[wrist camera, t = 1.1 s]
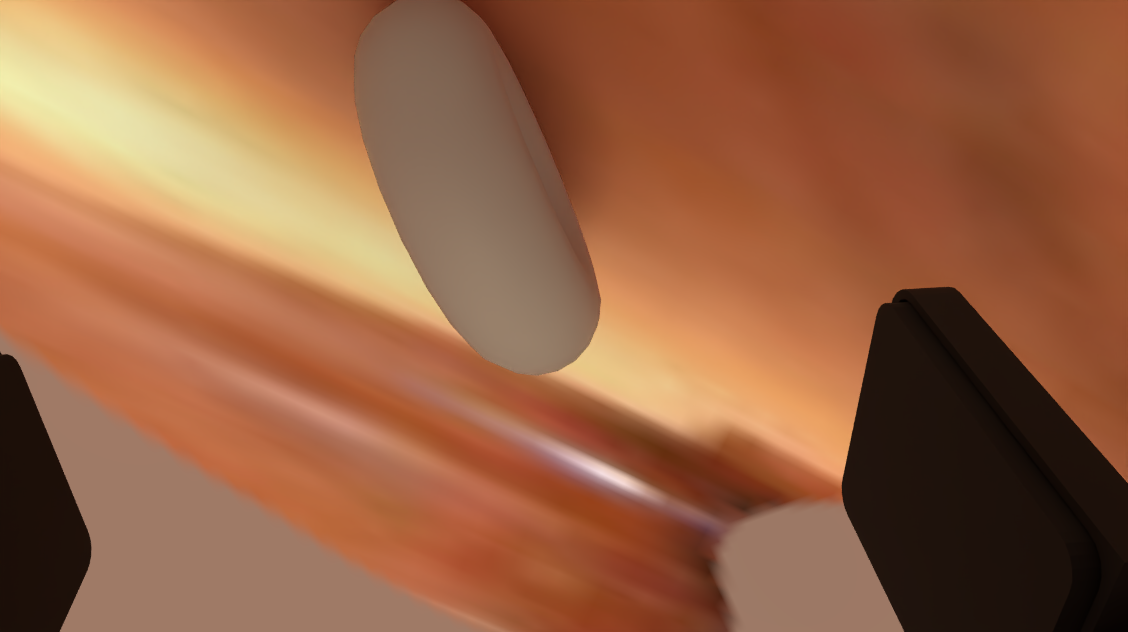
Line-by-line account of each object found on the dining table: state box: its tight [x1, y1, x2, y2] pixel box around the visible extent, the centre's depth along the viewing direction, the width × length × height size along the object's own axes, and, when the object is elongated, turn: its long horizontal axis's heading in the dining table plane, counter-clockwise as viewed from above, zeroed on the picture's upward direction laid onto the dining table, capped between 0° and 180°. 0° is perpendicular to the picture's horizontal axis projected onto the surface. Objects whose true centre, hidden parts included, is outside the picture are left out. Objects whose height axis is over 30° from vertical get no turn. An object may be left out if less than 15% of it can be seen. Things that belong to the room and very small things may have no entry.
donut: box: [354, 0, 601, 375], centre depth 23 cm, size 10×4×10 cm, turn 22°
